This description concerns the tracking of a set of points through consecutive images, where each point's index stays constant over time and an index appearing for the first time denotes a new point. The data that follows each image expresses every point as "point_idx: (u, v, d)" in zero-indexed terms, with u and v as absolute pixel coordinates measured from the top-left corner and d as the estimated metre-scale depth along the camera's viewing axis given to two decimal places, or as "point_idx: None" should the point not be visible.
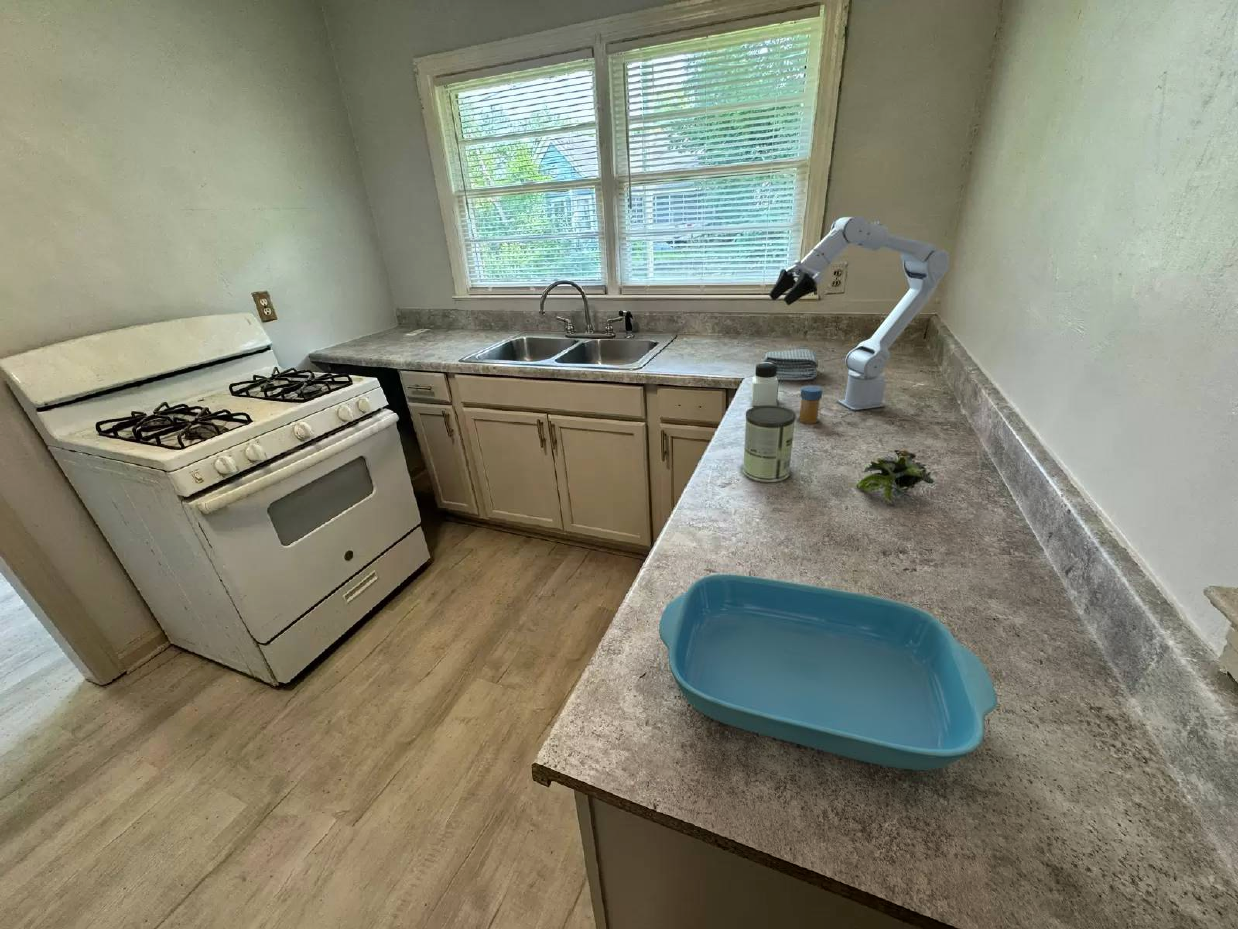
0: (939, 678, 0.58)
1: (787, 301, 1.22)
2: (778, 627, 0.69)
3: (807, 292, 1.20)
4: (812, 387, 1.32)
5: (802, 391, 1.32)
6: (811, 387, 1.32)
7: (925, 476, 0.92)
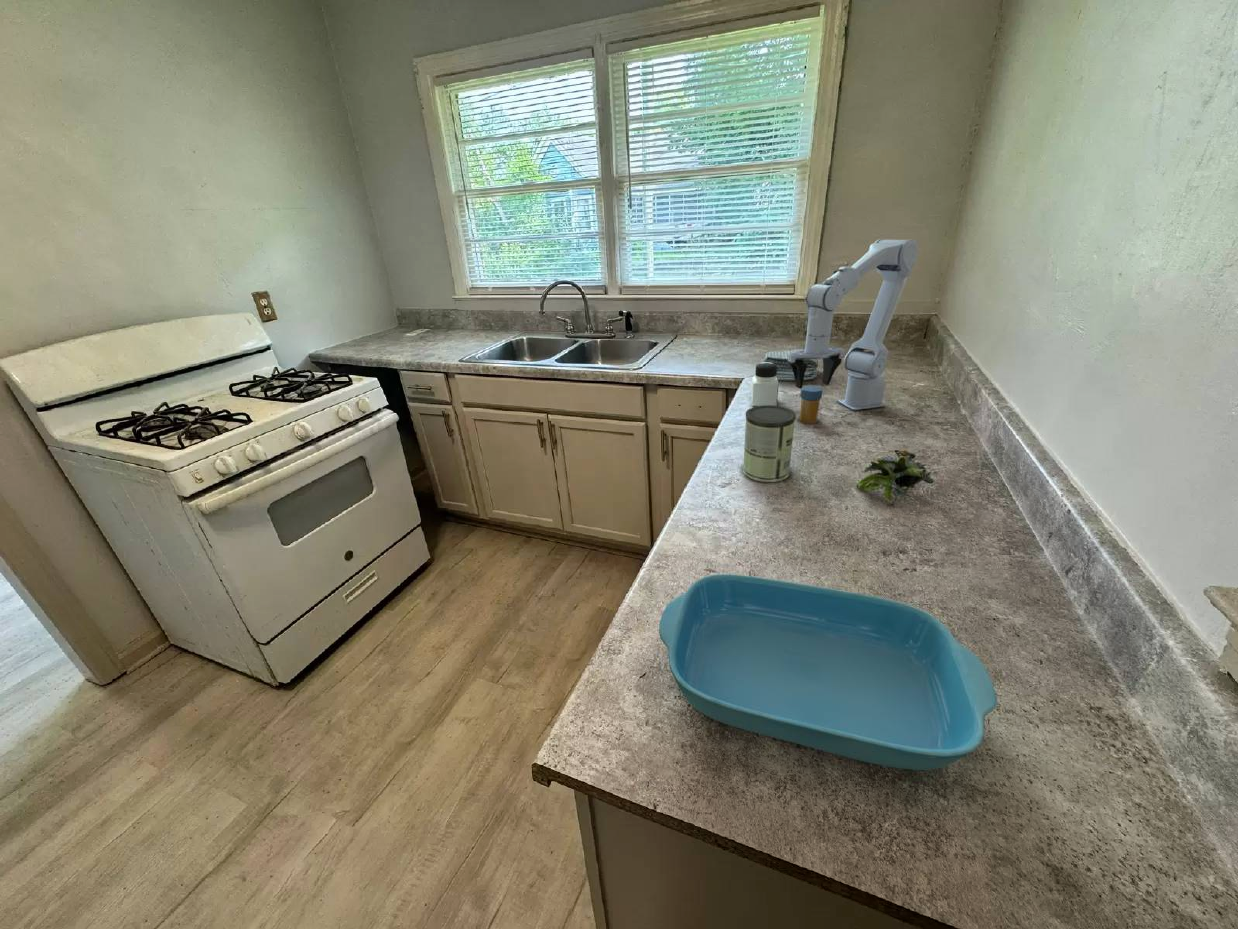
0: (939, 678, 0.58)
1: None
2: (778, 627, 0.69)
3: None
4: (812, 387, 1.32)
5: (802, 391, 1.32)
6: (811, 387, 1.32)
7: (925, 476, 0.92)
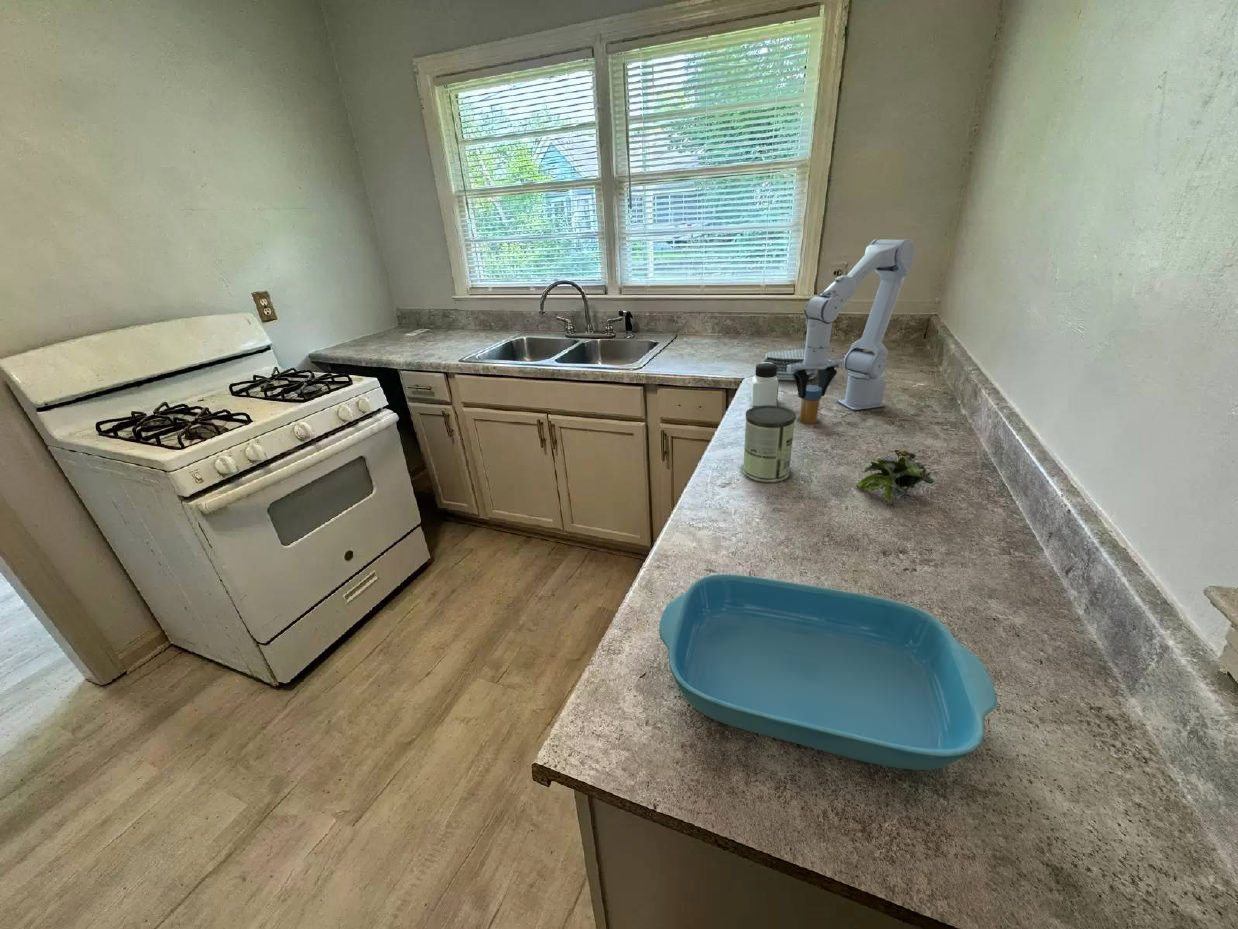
0: (939, 678, 0.58)
1: None
2: (778, 627, 0.69)
3: None
4: (812, 387, 1.32)
5: None
6: (811, 387, 1.32)
7: (925, 476, 0.92)
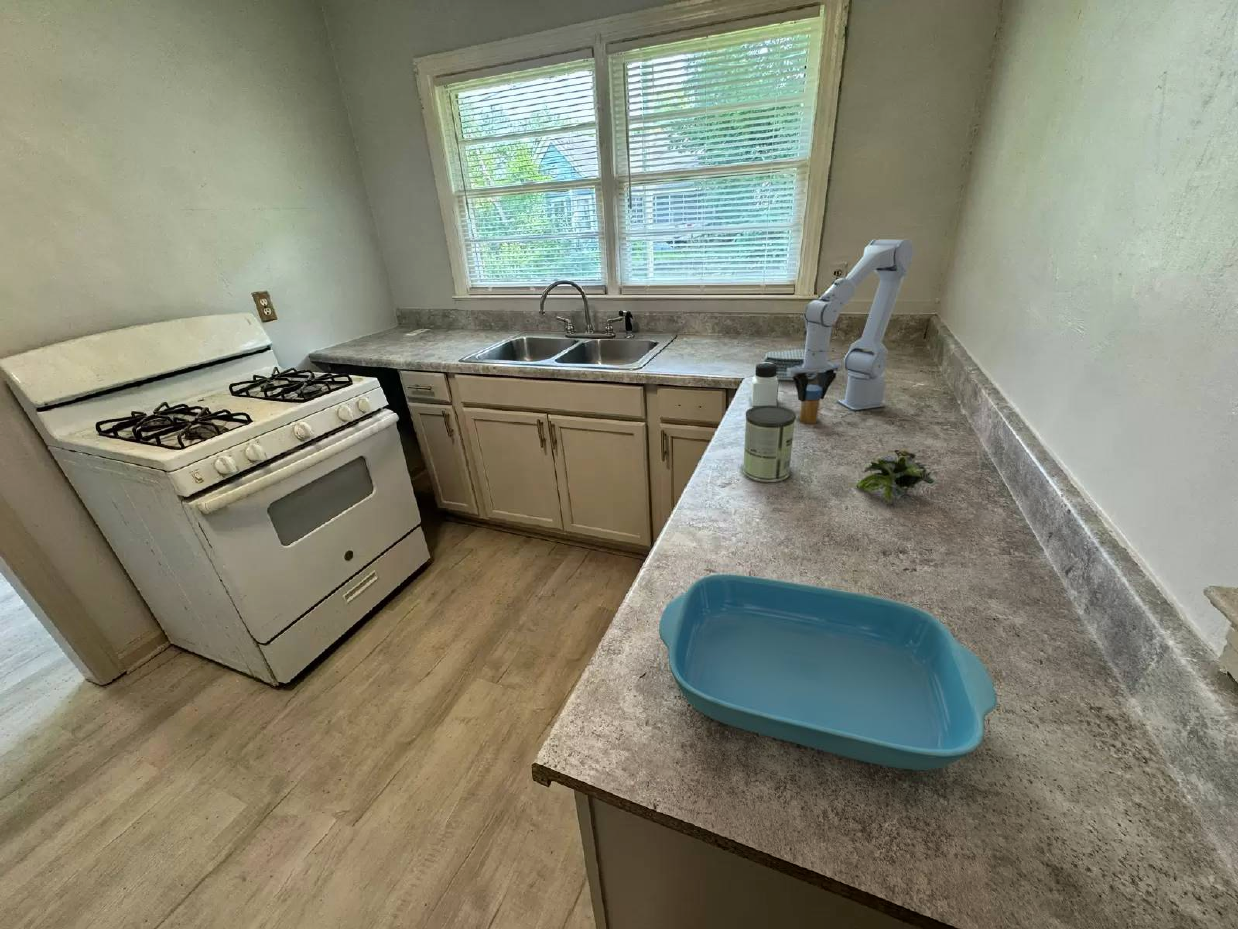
0: (939, 678, 0.58)
1: None
2: (778, 627, 0.69)
3: None
4: (809, 387, 1.32)
5: (808, 392, 1.30)
6: (809, 387, 1.32)
7: (925, 476, 0.92)
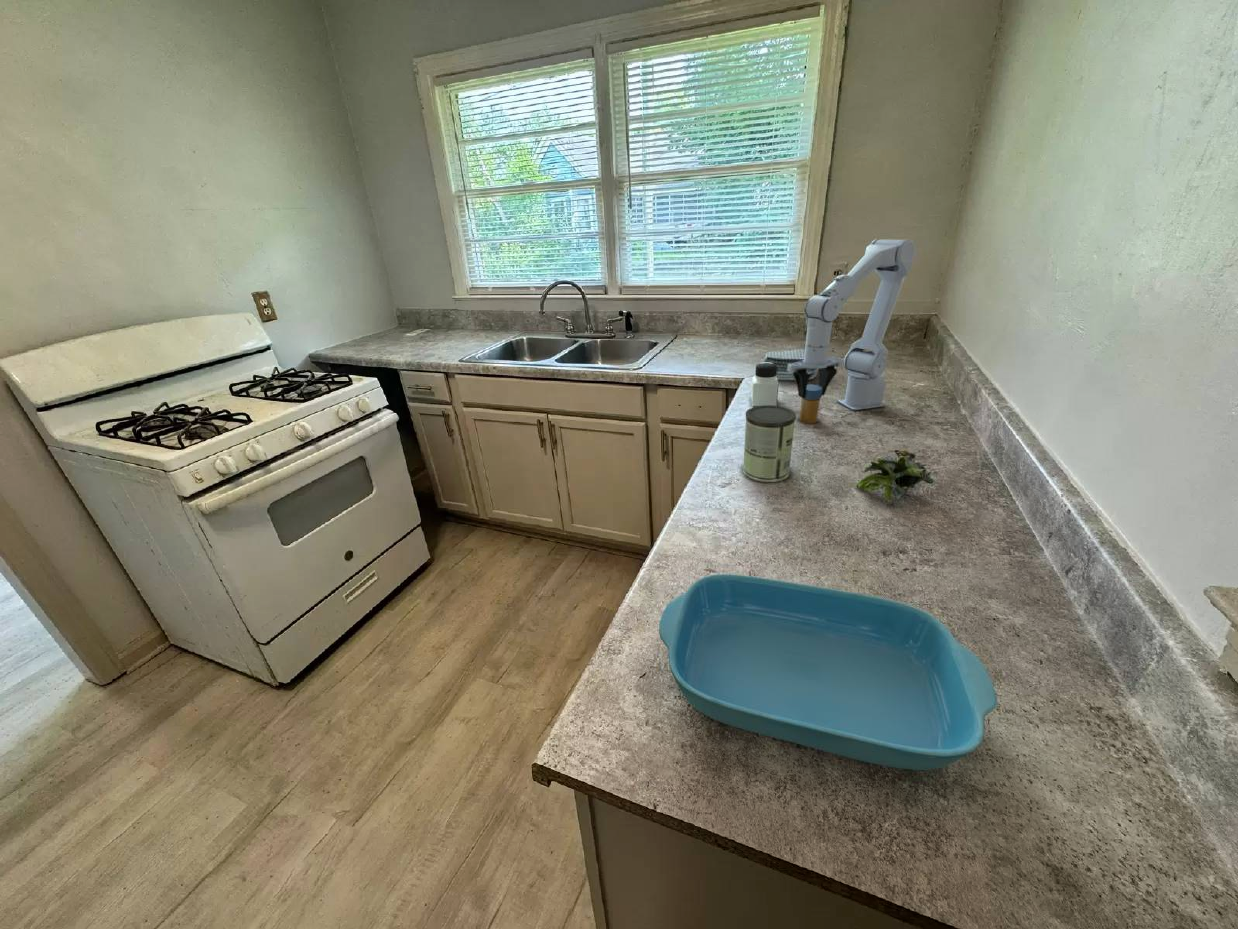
0: (939, 678, 0.58)
1: None
2: (778, 627, 0.69)
3: None
4: (808, 387, 1.32)
5: (816, 392, 1.30)
6: (808, 387, 1.32)
7: (925, 476, 0.92)
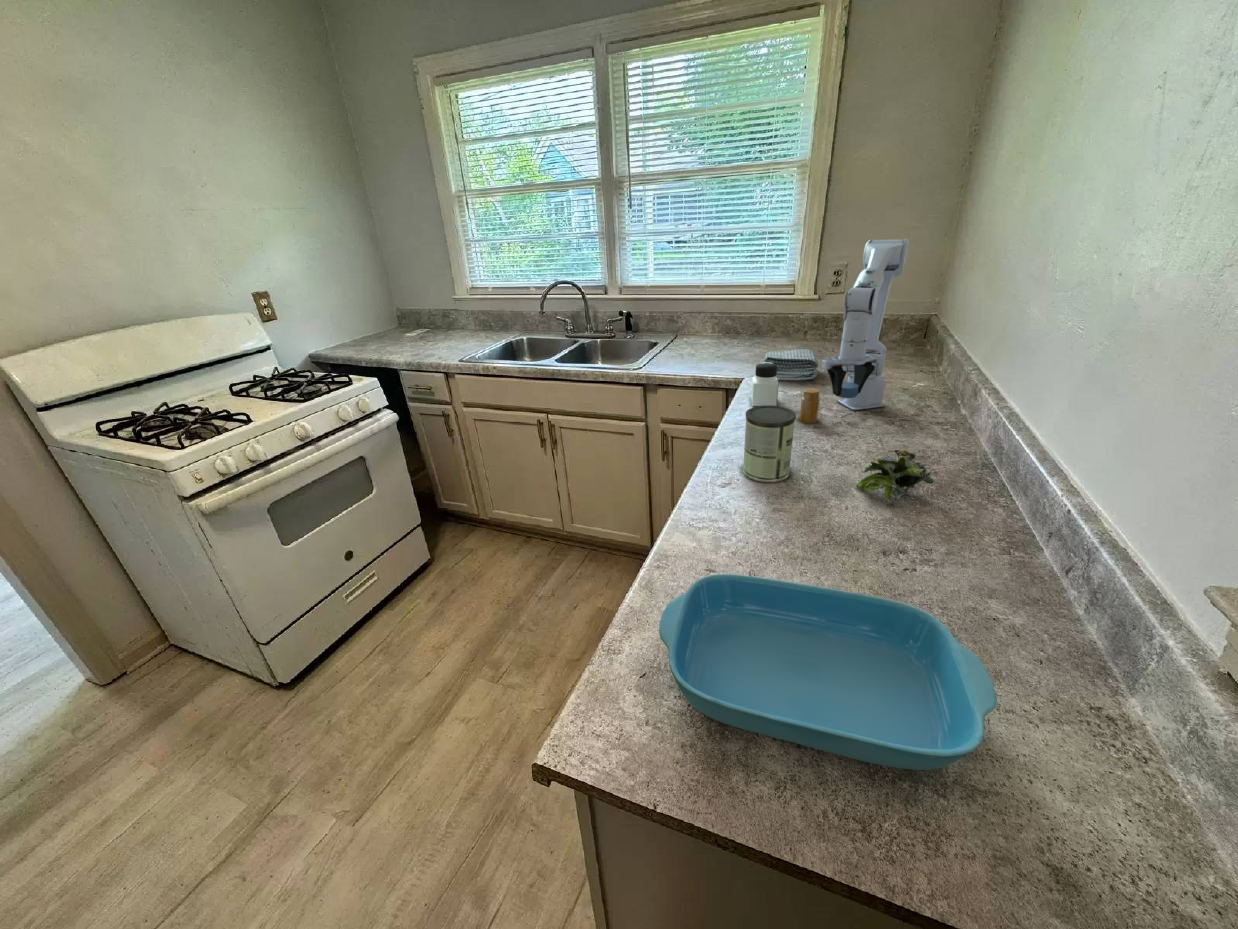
0: (939, 678, 0.58)
1: None
2: (778, 627, 0.69)
3: None
4: (843, 385, 1.25)
5: (852, 390, 1.22)
6: (844, 385, 1.24)
7: (925, 476, 0.92)
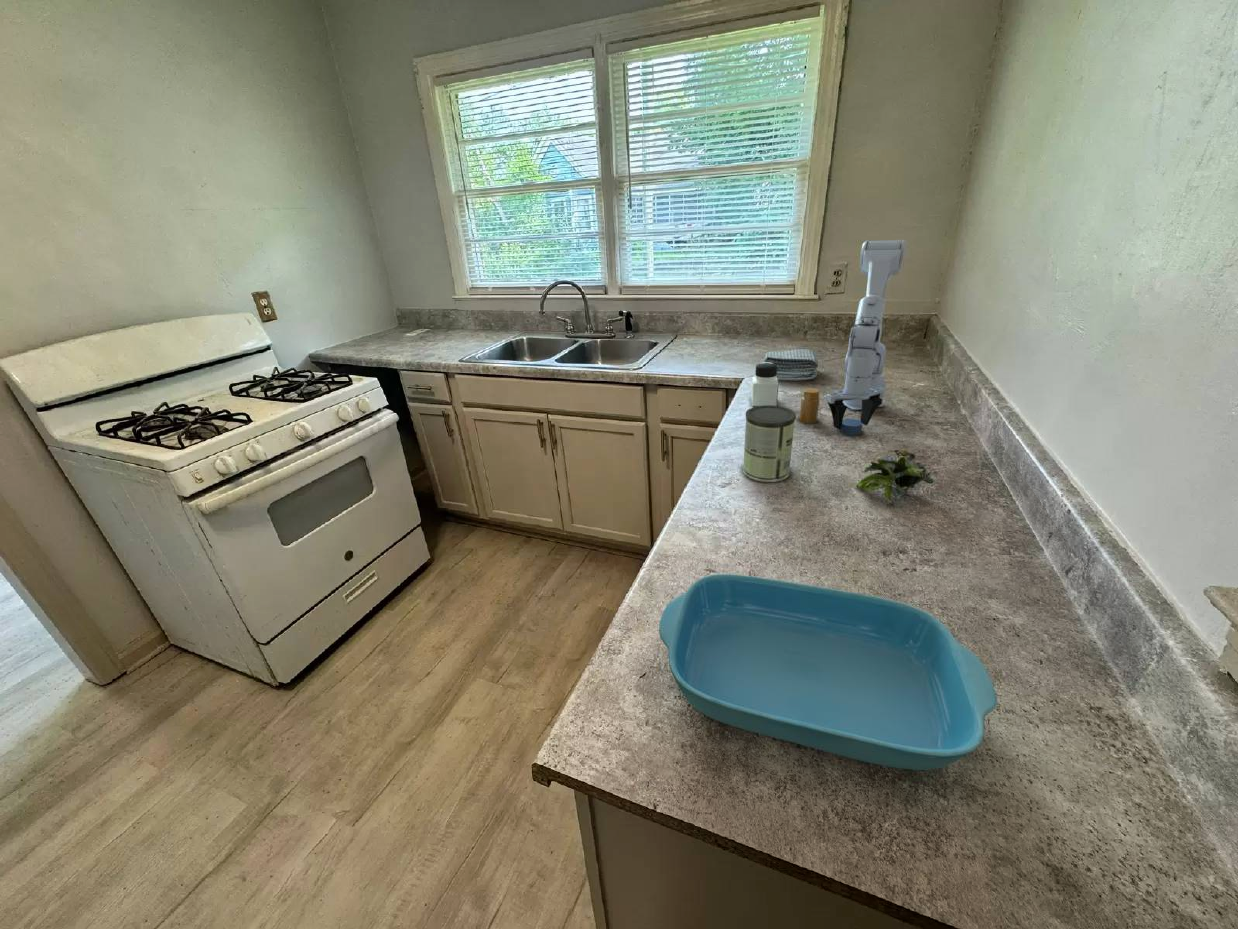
0: (939, 678, 0.58)
1: None
2: (778, 627, 0.69)
3: None
4: (847, 422, 1.27)
5: (856, 428, 1.25)
6: (847, 422, 1.27)
7: (925, 476, 0.92)
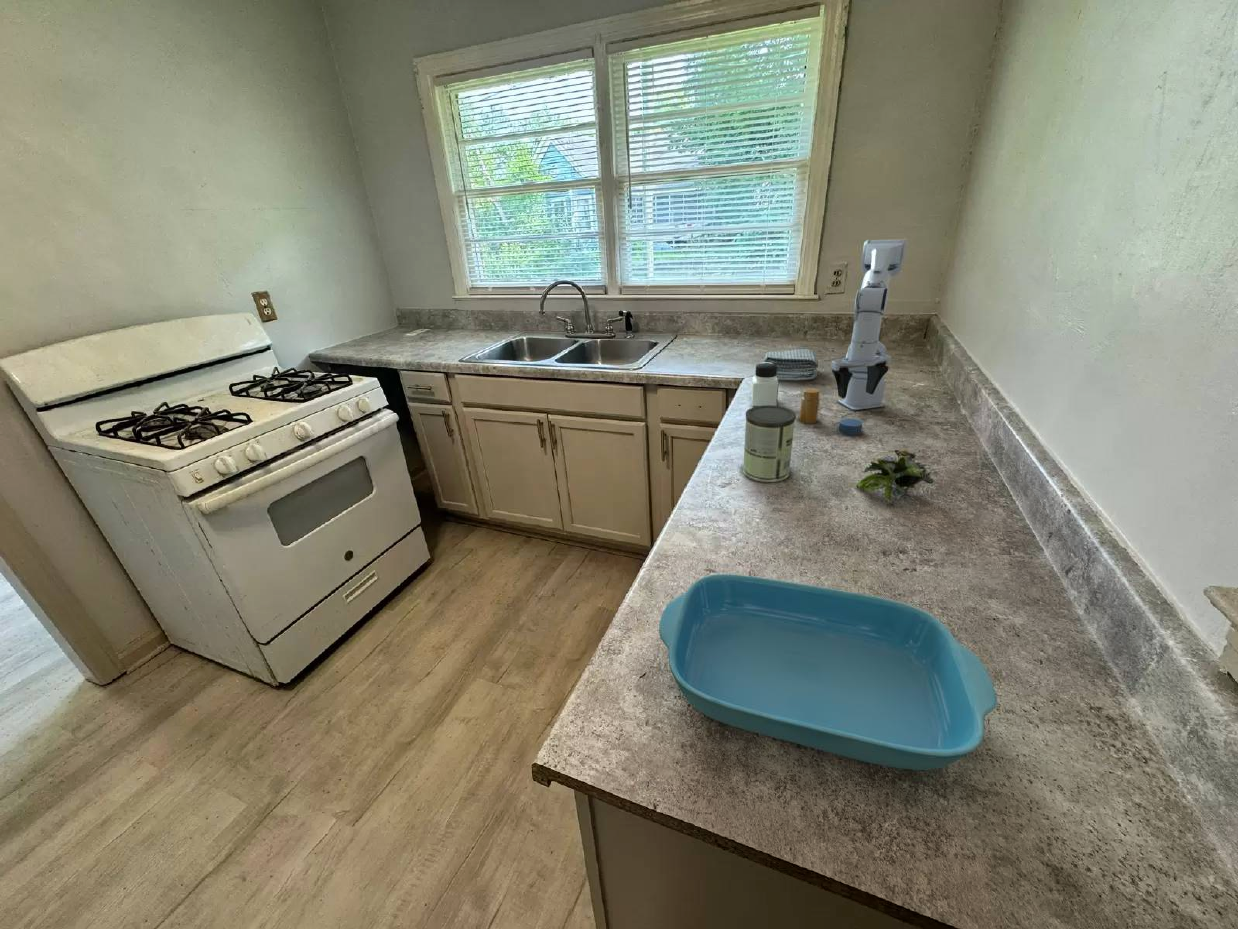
0: (939, 678, 0.58)
1: None
2: (778, 627, 0.69)
3: None
4: (847, 422, 1.27)
5: (856, 428, 1.25)
6: (847, 422, 1.27)
7: (925, 476, 0.92)
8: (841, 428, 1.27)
